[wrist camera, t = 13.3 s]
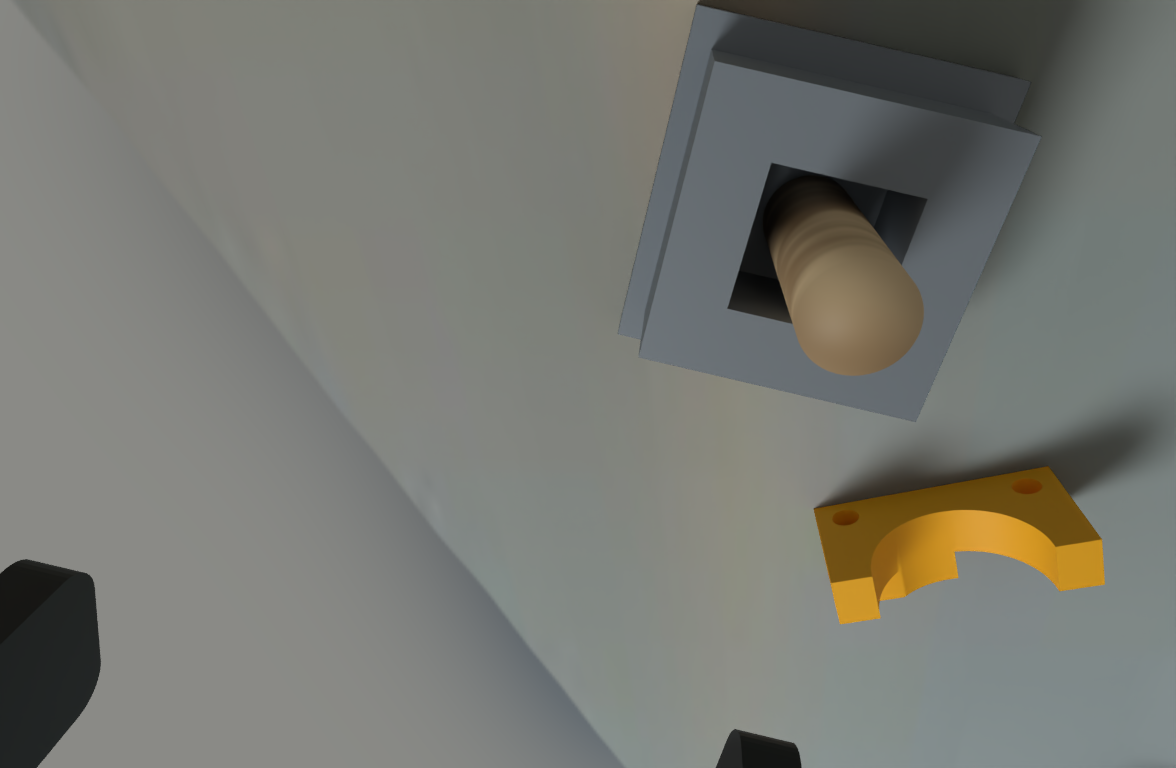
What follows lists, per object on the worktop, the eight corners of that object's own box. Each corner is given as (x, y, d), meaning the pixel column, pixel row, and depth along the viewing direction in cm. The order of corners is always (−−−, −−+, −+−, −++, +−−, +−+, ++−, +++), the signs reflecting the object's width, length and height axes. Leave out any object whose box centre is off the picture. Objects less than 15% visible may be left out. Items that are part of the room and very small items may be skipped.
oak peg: (779, 164, 37) (821, 245, 26) (868, 188, 37) (944, 277, 26) (750, 250, 39) (778, 358, 28) (834, 272, 39) (894, 388, 28)
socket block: (696, 3, 36) (698, 9, 29) (1018, 78, 36) (1088, 100, 29) (620, 322, 42) (607, 382, 36) (890, 385, 42) (925, 457, 36)
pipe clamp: (827, 569, 48) (846, 650, 42) (813, 507, 46) (830, 583, 40) (1053, 532, 45) (1106, 613, 39) (1047, 464, 44) (1101, 539, 38)
